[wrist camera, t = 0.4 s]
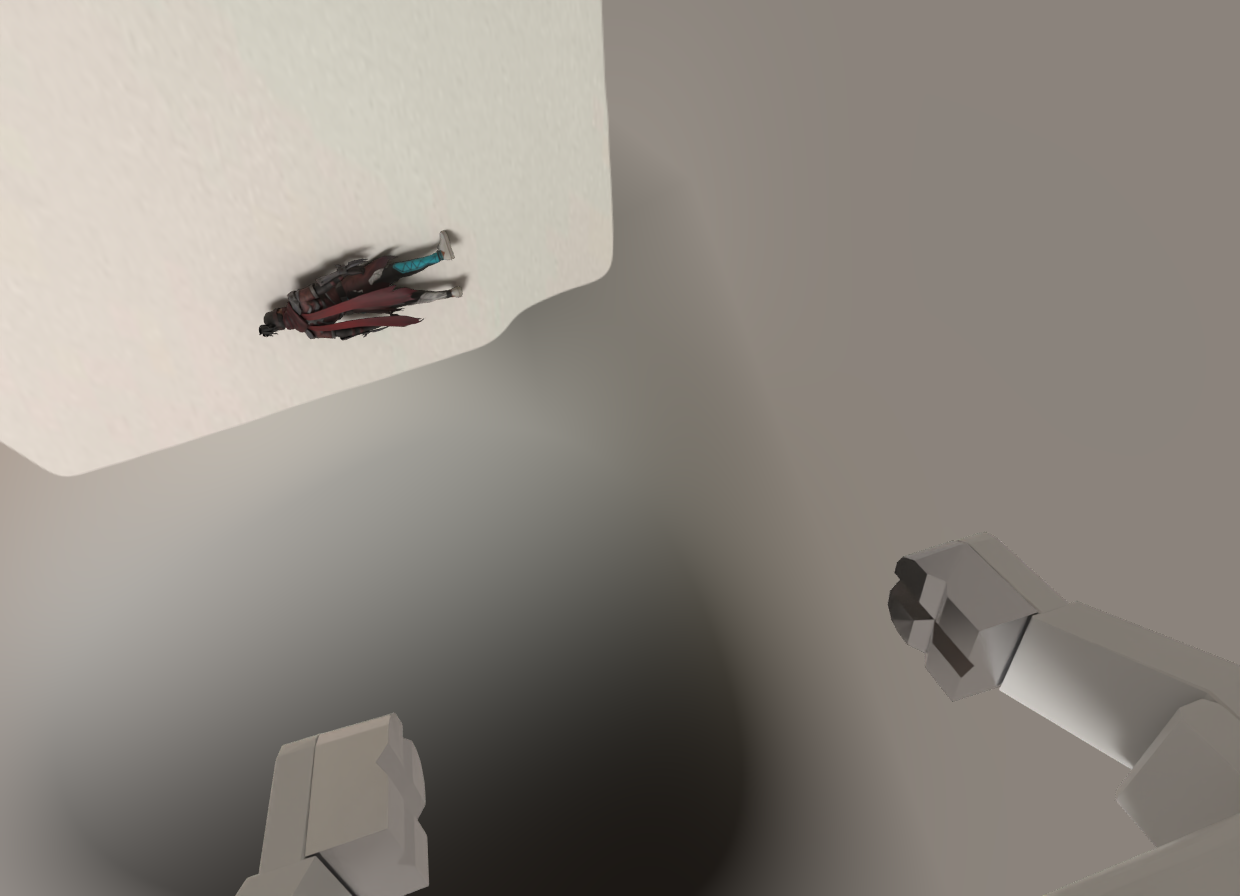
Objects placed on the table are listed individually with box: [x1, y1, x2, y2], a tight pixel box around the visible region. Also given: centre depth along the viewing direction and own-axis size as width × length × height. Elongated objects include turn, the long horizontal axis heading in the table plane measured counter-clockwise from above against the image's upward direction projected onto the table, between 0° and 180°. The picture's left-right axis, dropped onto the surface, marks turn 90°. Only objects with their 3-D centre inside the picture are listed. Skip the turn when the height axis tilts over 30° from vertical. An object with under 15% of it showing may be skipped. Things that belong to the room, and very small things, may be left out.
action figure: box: [259, 231, 463, 340], centre depth 58 cm, size 8×6×18 cm
